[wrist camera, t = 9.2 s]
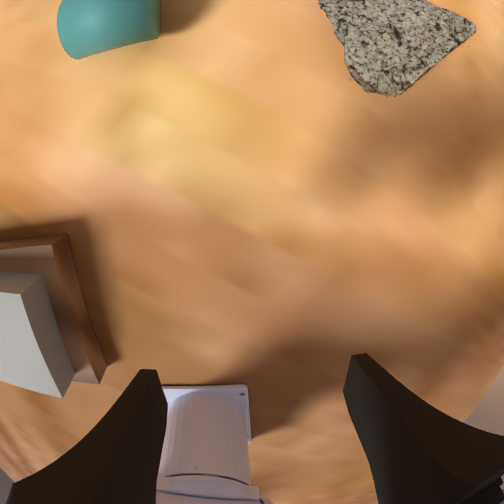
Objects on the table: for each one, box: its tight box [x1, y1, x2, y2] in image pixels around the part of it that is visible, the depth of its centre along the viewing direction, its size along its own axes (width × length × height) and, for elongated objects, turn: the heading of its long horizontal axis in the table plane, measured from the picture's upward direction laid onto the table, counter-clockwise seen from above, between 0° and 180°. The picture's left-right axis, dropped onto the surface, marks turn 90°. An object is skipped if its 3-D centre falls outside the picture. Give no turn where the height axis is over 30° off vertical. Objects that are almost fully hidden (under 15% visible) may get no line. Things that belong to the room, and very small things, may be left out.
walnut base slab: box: [0, 234, 107, 384], centre depth 19 cm, size 12×12×3 cm
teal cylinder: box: [57, 0, 161, 59], centre depth 11 cm, size 5×5×5 cm
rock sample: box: [318, 0, 476, 97], centre depth 12 cm, size 10×8×9 cm
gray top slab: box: [0, 272, 75, 398], centre depth 16 cm, size 9×9×3 cm
